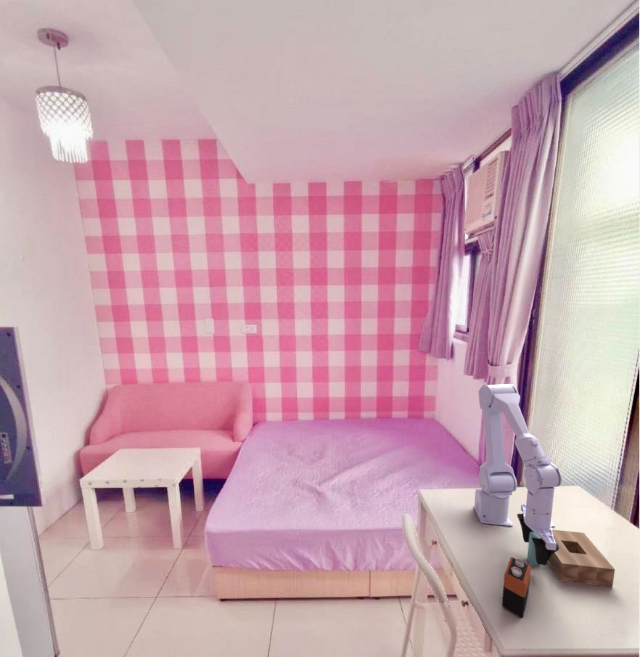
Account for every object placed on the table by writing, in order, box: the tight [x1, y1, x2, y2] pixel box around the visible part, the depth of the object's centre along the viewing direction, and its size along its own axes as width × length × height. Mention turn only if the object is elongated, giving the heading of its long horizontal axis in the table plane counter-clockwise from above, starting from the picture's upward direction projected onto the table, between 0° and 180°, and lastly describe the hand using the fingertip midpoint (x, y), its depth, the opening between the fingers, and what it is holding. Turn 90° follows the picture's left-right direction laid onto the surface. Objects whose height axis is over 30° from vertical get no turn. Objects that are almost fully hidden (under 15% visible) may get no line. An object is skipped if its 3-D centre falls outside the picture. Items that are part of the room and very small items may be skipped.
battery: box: [501, 556, 532, 619], centre depth 77 cm, size 4×7×10 cm, turn 138°
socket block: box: [547, 529, 616, 588], centre depth 88 cm, size 12×12×5 cm
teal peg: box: [526, 532, 541, 568], centre depth 88 cm, size 3×3×8 cm
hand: (534, 552), depth 88 cm, fingers open, 7 cm apart
